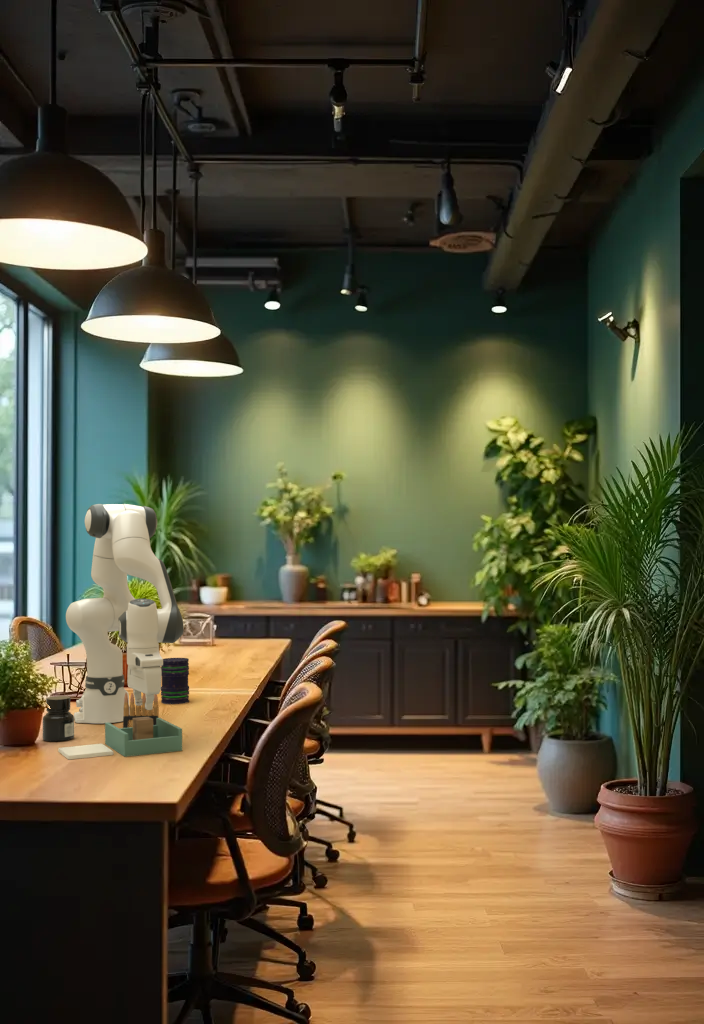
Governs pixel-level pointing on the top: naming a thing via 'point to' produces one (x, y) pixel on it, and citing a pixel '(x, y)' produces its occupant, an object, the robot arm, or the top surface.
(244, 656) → the top surface
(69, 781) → the top surface
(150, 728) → the walnut block
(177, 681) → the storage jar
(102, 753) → the board
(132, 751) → the box
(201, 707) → the top surface
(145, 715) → the ammunition clip
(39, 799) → the top surface
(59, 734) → the ink bottle
